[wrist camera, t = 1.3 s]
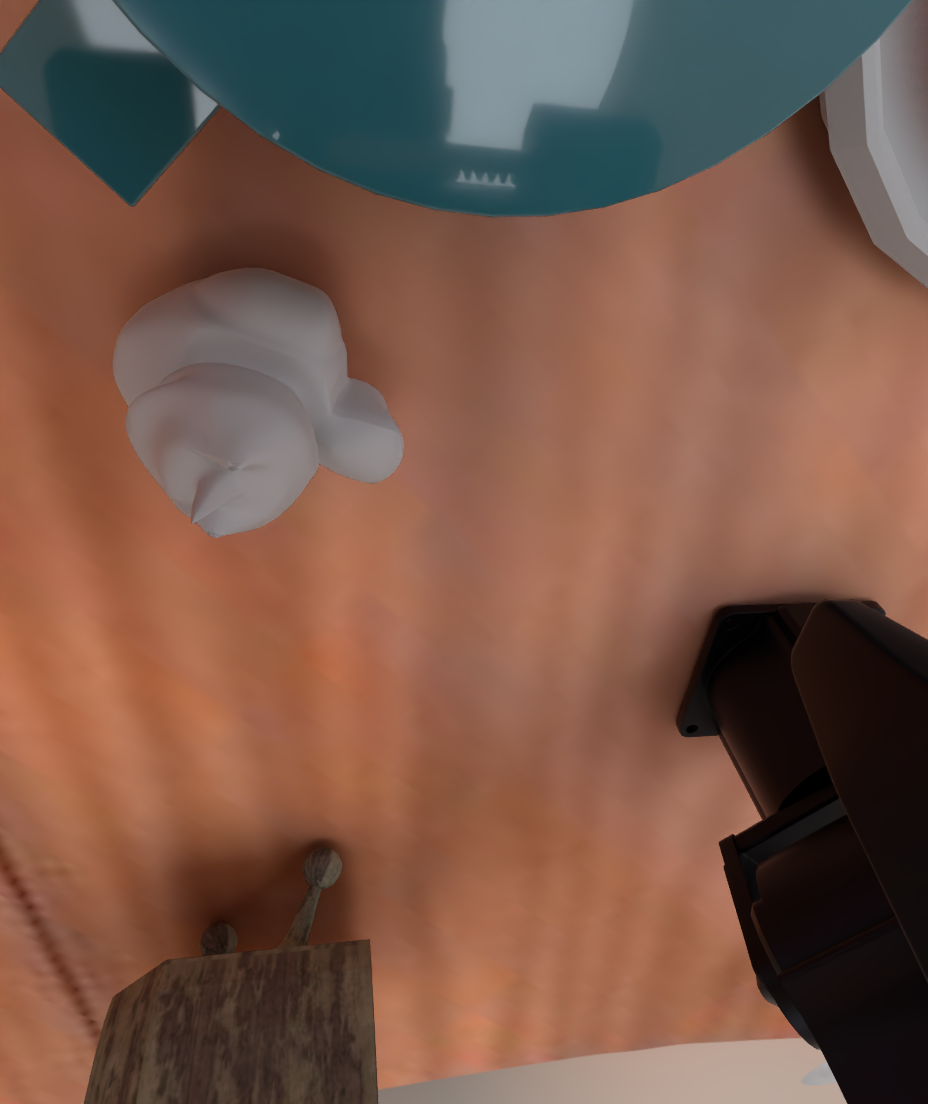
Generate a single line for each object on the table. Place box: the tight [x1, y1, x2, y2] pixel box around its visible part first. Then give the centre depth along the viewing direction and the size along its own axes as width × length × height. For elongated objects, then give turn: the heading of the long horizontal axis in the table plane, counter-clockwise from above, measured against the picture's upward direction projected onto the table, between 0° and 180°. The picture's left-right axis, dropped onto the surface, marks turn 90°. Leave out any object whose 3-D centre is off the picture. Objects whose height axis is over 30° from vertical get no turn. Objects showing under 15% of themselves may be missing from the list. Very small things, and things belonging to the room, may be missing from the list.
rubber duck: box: [112, 267, 404, 537], centre depth 17 cm, size 5×7×8 cm
